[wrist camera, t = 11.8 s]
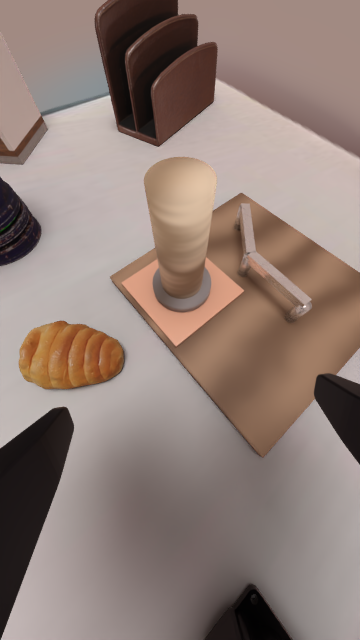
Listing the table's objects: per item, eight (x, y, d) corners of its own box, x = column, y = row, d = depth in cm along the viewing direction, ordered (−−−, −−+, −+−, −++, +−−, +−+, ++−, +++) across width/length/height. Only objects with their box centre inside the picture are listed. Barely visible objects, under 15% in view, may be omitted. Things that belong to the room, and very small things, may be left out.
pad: (243, 293, 23) (244, 290, 23) (176, 347, 21) (176, 346, 21) (186, 242, 27) (186, 239, 26) (122, 285, 24) (121, 282, 24)
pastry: (131, 332, 23) (122, 319, 20) (119, 396, 21) (106, 394, 17) (51, 326, 24) (28, 312, 20) (29, 387, 21) (-1, 383, 17)
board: (392, 304, 24) (400, 300, 23) (259, 455, 18) (263, 457, 17) (239, 198, 31) (241, 192, 30) (112, 281, 26) (109, 276, 25)
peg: (218, 275, 24) (247, 161, 13) (197, 321, 22) (211, 230, 11) (168, 257, 25) (156, 139, 14) (144, 300, 23) (107, 198, 12)
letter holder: (117, 132, 40) (85, -1, 27) (176, 91, 46) (173, -33, 33) (158, 148, 37) (145, 10, 24) (214, 102, 44) (227, -26, 31)
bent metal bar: (298, 321, 22) (317, 305, 19) (266, 330, 22) (281, 317, 18) (240, 223, 28) (248, 199, 25) (215, 229, 27) (219, 205, 24)
